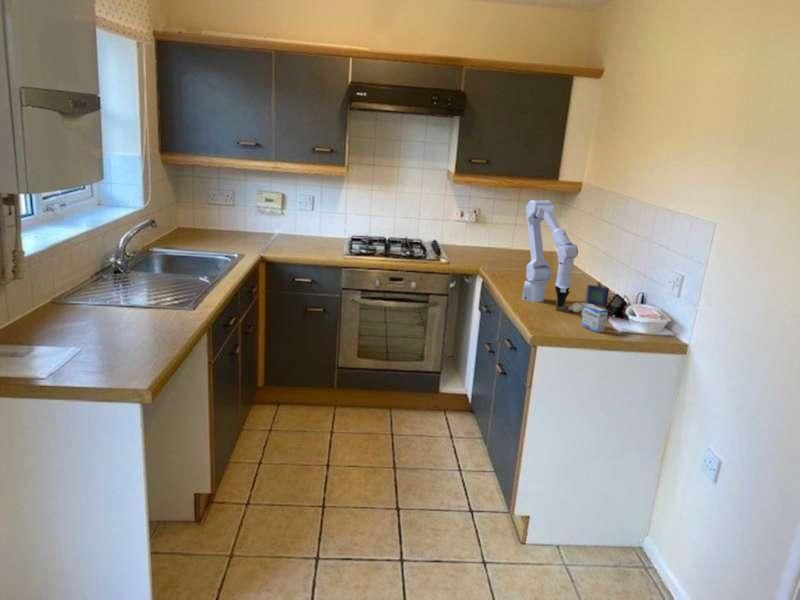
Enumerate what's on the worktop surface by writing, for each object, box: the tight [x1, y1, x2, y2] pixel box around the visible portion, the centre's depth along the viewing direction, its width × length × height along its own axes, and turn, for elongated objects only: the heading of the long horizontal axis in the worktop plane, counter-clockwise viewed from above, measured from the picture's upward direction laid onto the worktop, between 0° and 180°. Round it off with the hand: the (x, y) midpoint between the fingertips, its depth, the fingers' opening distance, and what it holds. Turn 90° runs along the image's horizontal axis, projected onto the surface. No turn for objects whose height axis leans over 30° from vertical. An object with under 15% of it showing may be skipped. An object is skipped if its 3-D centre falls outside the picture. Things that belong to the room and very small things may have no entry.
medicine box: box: [581, 304, 609, 333], centre depth 228 cm, size 8×4×9 cm, turn 31°
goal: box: [580, 302, 594, 317], centre depth 247 cm, size 5×9×3 cm, turn 167°
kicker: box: [555, 302, 570, 313], centre depth 248 cm, size 5×5×7 cm
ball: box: [570, 302, 582, 313], centre depth 247 cm, size 4×4×4 cm
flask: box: [584, 281, 610, 307], centre depth 261 cm, size 9×3×11 cm, turn 59°
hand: (560, 305), depth 249 cm, fingers open, 3 cm apart
